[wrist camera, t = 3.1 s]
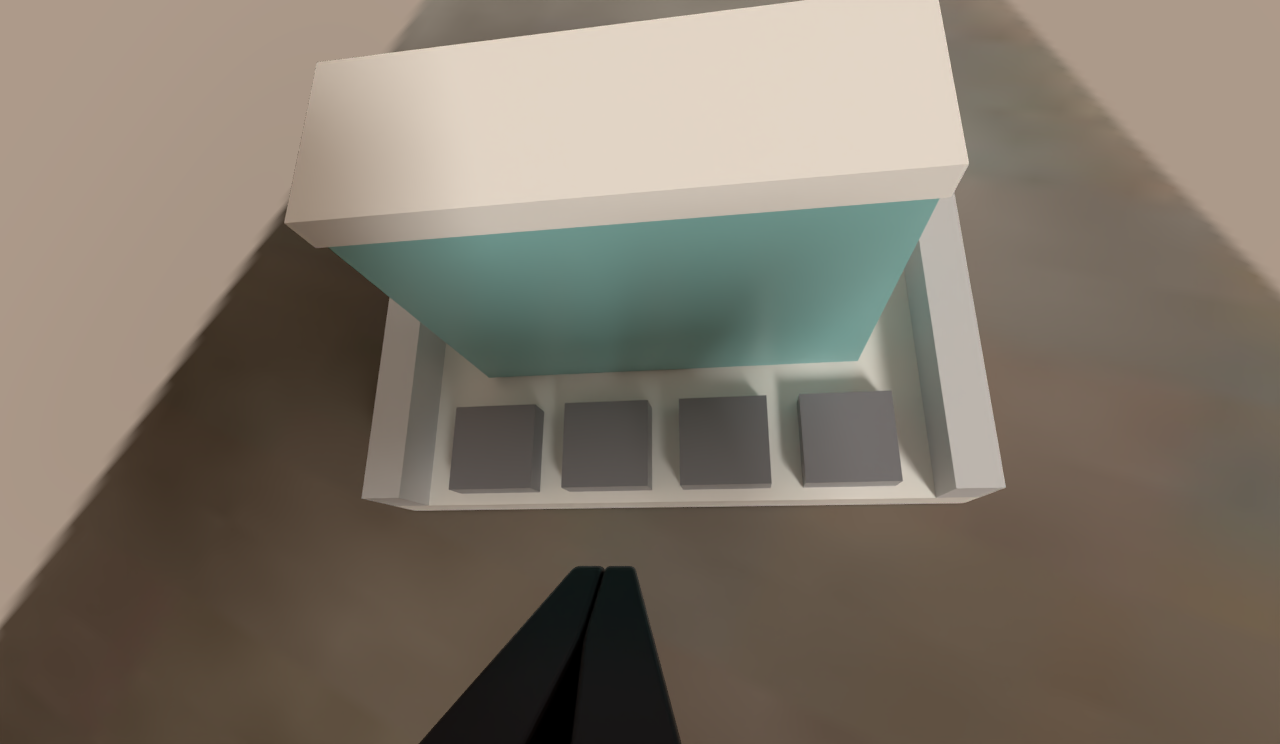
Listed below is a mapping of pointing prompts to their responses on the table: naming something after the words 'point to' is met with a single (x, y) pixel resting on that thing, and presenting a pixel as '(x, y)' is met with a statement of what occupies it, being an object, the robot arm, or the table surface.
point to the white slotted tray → (703, 418)
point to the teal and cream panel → (641, 184)
